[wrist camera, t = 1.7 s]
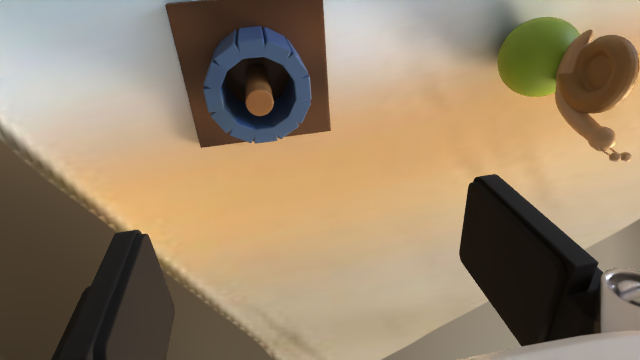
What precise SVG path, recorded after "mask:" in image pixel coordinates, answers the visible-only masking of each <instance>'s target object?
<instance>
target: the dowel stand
mask: <svg viewBox="0 0 640 360" xmlns="http://www.w3.org/2000/svg"><path fill="white" fill-rule="evenodd" d="M166 9H167V13H168V17H169V21H170V25H171V29H172V33H173V37H174V41H175V45H176V50H177V54H178V58H179V62H180V66H181V70H182V74H183V78H184V82H185V86H186V90H187V94H188V98H189V102H190V106H191V110H192V114H193V118H194V122H195V126H196V130H197V134H198V138H199V142H200V146H201V148H202V147H210V146H218V145H225V144H233V143H241V142H247V141H244V140H241V139H238V138H235V137H233V136H230V135H229V134H230V131H229V132H228V133H225V132H224V130H223V129H222V128H221V127H220V126H219V125H218V124H217V123H216V122H215V121H214V120H213V118H212V117H211V116H210V115H211V112H208V109H207V105H206V101H205V96H204V92H203V88H204V85H203V84H204V81H205V77H206V74H207V71H208V68H209V65H210V62H211V59H212V56H213V53H214V50H215V48H216V46H218V43H219V42H220V41H221V40H223V39H224V38H225V37H227V36H228V35H229V34H230V33H232V32H233V31H234V30H236V31H237V32H238V31H239V28H246V27H256V26H261V28H262V31H263V29H264V27H266V28H269V29H271V30H273V31H275V32H277V33H279V34H281V35H283V36H285V38H286V39H288V40H289V41H290V43H291V44H292V45H293V47H294V48H295V50H296V51H297V53H298V54H299V55H300V57H301V59H302V61H303V63H304V65H305V67H306V69H307V71H308V75H309V77H310V85H311V97H312V99H311V100H310V103H311V105H310V107H309V109H308V111H307V113H306V115H305V117H304V119H303V122H302V123H301V124H300V123H298V125H299V127H298V128H296V129H295V130H293V131H292V132H290V133H289V134H288V135H286V136H285V137H287V136H294V135H302V134H310V133H317V132H325V131H331V128H330V111H329V95H328V78H327V61H326V45H325V28H324V11H323V0H200V1H190V2H179V3H168V4H166ZM225 78H226V84H227V87H228V89H229V90H230V91H231V92H232V93H233V94H234V96H235V97H236V98H237V99H238V100H240V101H242V102H245V103H246V107H247V109H248V110H249V112H250V113H252V114H254V115H257V116H263V115H266V114H268V113H269V112H270V111H271V110H272V108H273V104H274V101H275V100H276V99H277V98H279V97H280V96H281V95H283V93H284V90H285V88H286V86H287V83H288V81H289V74H288V72H287V71H286V70H285V68H284V67H283V65H281V64H279V63H277V62H274V61H272V60H270V59H267V58H265V57H257V58H247V59H242V60H241V61H240V62H238V63H237V64H236V65H234V66H233V67H232V68H231V69H229V70H228V71H227V73H226V76H225ZM277 138H279V137H278V136H277ZM253 141H254V138H253Z"/></svg>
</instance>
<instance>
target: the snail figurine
mask: <svg viewBox="0 0 640 360" xmlns="http://www.w3.org/2000/svg"><path fill="white" fill-rule="evenodd" d="M592 37H593V31H592V30H587V31H586V32H584V33H582V34H581V35H580V33H579V32H578V31H577V29H576V28H575V27H574V26H572V25H571V24H570V23H568V22H566V21H564V20H562V19H558V18H553V17H541V18H536V19H532V20H530V21H527V22H525V23H523V24H521V25H520V26H518V27H517V28H515V29H514V30H513V31H512V32H511V33H510V34H509V35H508V36H507V38H506V39H505V40H504V42H503V44H502V46H501V48H500V51H499V54H498V71H499V74H500V76H501V78H502V80H503V82H504V83H505V84H506V85H507V86H508V87H509V88H510V89H511V90H513V91H514V92H516V93H518V94H521V95H524V96H530V97H540V96H546V95H549V94H552V93H555V99H556V104H557V107H558V109H559V111H560V113H561V114H562V116H563V117H564V119H565V120H566V121H567V122H568V124H569V125H570V126H571V127H572V128H573V129H574V130H575V131H576V132H578V133H579V134H580V135H581V136H583V137H584V138H585V139H586V140H587V141H588V142H589V144H590V146H591V147H593V148H594V149H596V150H597V151H603V152H604V153H606V154H607V155H609V159H610V160H611V161H615V162H617V161H619V160H622V161H629V160H630V159H631V155H630V154H629V153H627V152H624V153H621V154H619V153H617V152H615V151H614V150H613V149H612V147H613V146H614V144H615V142H616V135H615V133H614V131H613V130H611V129H610V128H608V127H602V126H600V125H599V124H598V123H597V122H596V121H595V120H594V119H593V118H592V117H591V116H590V115H589V114H588V113H601V112H604V111H607V110H610V109H612V108H614V107H615V106H617V105H618V104H619V103H620V102H622V101H623V100H624V99H625V98H626V97H627V95H628V94H629V93H630V92H631V90H632V88H633V86H634V85H635V82H636V79H637V77H638V72H639V58H638V53H637V51H636V49H635V47H634V46H633V45H632V43H631V42H630V41H629V40H627V39H626V38H624V37H621V36H617V35H606V36H602V37H599V38H597V39H596V40H594V41H593V42H591V43H590V41H591V39H592ZM609 149H611V150H612V151H613V152H614V153H612V154H611V155H610V154H608V153H607V152H605V151H606V150H609Z"/></svg>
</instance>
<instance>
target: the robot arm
mask: <svg viewBox="0 0 640 360" xmlns="http://www.w3.org/2000/svg"><path fill="white" fill-rule="evenodd" d="M459 253H460V259H461V261H462V263H463V265H464V266H465V268H466V269H467V270H468V272H469V273H470V275H471V276H472V277H473V279H474V280H475V282H476V283H477V284H478V286H479V287H480V289H481V290H482V291H483V293H484V294H485V296H486V297H487V298H488V300H489V301H490V302H491V304H492V305H493V307H494V308H495V309H496V311H497V312H498V314H499V315H500V317H501V318H502V319H503V321H504V322H505V324H506V325H507V326H508V328H509V329H510V331H511V332H512V333H513V335H514V336H515V338H516V339H517V340H518V342H519V343H520V345H521V346H522V347H518V348H513V349H508V350H503V351H497V352H493V353H488V354H483V355H478V356H473V357H468V358H463V359H458V360H640V271H637V270H634V269H628V268H613V269H609V270H607V271H605V272H604V273H603V272H602V271H601V270H600V269H599V268H598V267H597V265H598V262H597V261H596V260H595V259H594V258H593V257H591V256H590V255H589V254H588V253H587V252H586V251H585V250H584V249H582V248H581V247H580V246H579V245H578V244H577V243H575V242H574V241H573V240H572V239H571V238H570V237H569V236H567V235H566V234H565V233H564V232H563V231H562V230H560V229H559V228H558V227H557V226H556V225H555V224H553V223H552V222H551V221H550V220H549V219H548V218H547V217H545V216H544V215H543V214H542V213H541V212H540V211H538V210H537V209H536V208H535V207H534V206H533V205H532V204H530V203H529V202H528V201H527V200H526V199H525V198H523V197H522V196H521V195H520V194H519V193H518V192H517V191H515V190H514V189H513V188H512V187H511V186H510V185H508V184H507V183H506V182H505V181H504V180H503V179H501V178H500V177H499V176H498V175H496V174H493V175H486V176H480V177H476V178H475V179H474V181H473V182H472V183H470V184H469V187H468V193H467V200H466V208H465V215H464V222H463V229H462V237H461V244H460V252H459ZM173 319H174V303H173V300H172V297H171V295H170V292H169V289H168V286H167V284H166V281H165V279H164V275H163V273H162V270H161V267H160V265H159V262H158V259H157V257H156V254H155V251H154V248H153V246H152V243H151V240H150V238H149V236H148V234H142V233H141V232H140V231H139V230H132V231H126V232H120V233H116V234H115V235H114V237H113V239H112V241H111V243H110V245H109V247H108V250H107V252H106V254H105V256H104V259H103V261H102V263H101V265H100V267H99V269H98V272H97V274H96V276H95V278H94V281H93V283H92V285H91V286H89V287H87V288H86V289H85V290H84V292H83V293H82V296H81V298H80V300H79V302H78V304H77V306H76V308H75V311H74V313H73V315H72V317H71V319H70V321H69V323H68V325H67V327H66V330H65V332H64V334H63V336H62V338H61V340H60V342H59V344H58V347H57V349H56V351H55V353H54V355H53V357H52V360H166V357H167V351H168V346H169V340H170V335H171V330H172V325H173Z"/></svg>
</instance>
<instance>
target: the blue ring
mask: <svg viewBox="0 0 640 360" xmlns="http://www.w3.org/2000/svg"><path fill="white" fill-rule="evenodd" d="M257 57H265V58H267V59H270V60H272V61H274V62H277V63H279V64H281V65H283V67H284V68H285V70H286V71H287V72H288V74H289V81H288V83H287V86H286V88H285V90H284V93H283V95H281V96H280V97H279V98H277V99H276V100H275V101H274V104H273V108H272V110H271V111H270V112H269V113H268V114H266V115H263V116H257V115H254V114H252V113H250V112H249V110H248V109H247V107H246V103H245V102H242V101H240V100H238V99H237V98H236V97H235V96H234V94H233V93H232V92H231V91H230V90H229V89H228V87H227V84H226V78H225V76H226V73H227V71H228V70H229V69H231V68H232V67H233V66H234V65H236V64H237V63H238V62H240V61H241V60H242V59H247V58H257ZM203 85H204V88H203V92H204V96H205V101H206V105H207V109H208V112H211V115H210V116H211V117H212V118H213V120H214V121H215V122H216V123H217V124H218V125H219V126H220V127H221V128H222V129H223V130H224V132H225V133H228V132H229V131H230V134H229V135H230V136H233V137H235V138H238V139H241V140H244V141H247V142H249V143H252V141H253V138H254V142H255V143H263V142H271V141H277V136H278V137H279V138H280V139H282V138H283V137H285V136H286V135H288V134H289V133H290V132H292V131H293V130H295V129H296V128H298V127H299V125H298V123H300V124H301V123H302V122H303V119H304V117H305V115H306V113H307V111H308V109H309V107H310V105H311V103H310V100H311V99H312V97H311V85H310V77H309V75H308V71H307V69H306V67H305V65H304V63H303V61H302V59H301V57H300V55H299V54H298V53H297V51H296V50H295V48H294V47H293V45H292V44H291V43H290V41H289V40H288V39H286V38H285V36H283V35H281V34H279V33H277V32H275V31H273V30H271V29H269V28H266V27H264V29H263V31H262V28H261V26H256V27H246V28H239V31H238V32H237V31H236V30H234V31H233V32H232V33H230V34H229V35H228V36H227V37H225V38H224V39H223V40H221V41H220V42H219V43H218V46H216V48H215V50H214V53H213V56H212V59H211V62H210V65H209V68H208V71H207V74H206V77H205V81H204V84H203Z"/></svg>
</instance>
